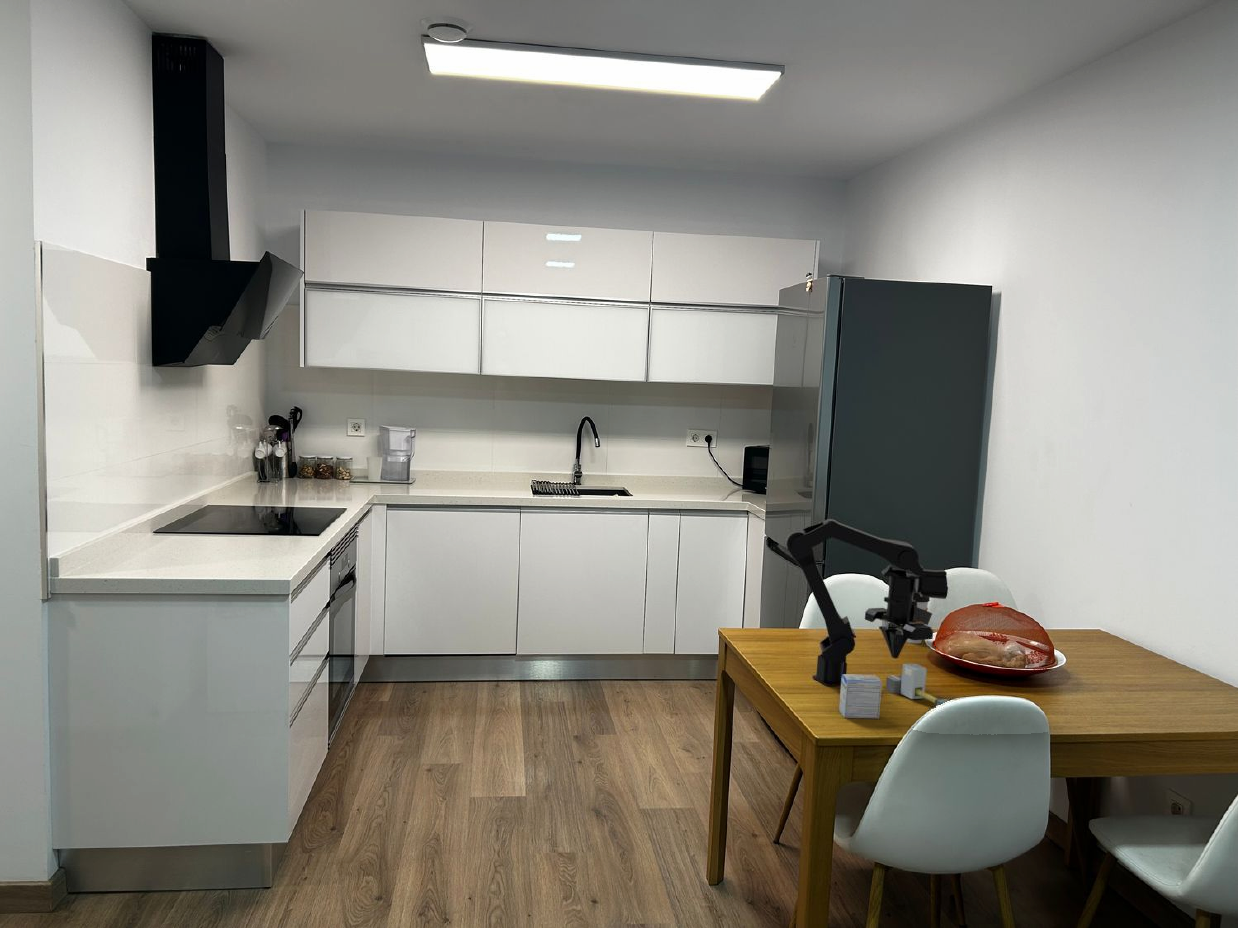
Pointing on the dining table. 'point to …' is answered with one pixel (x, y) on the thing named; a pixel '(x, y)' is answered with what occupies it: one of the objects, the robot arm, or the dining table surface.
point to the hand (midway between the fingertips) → (894, 657)
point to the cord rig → (895, 687)
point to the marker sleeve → (913, 680)
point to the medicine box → (860, 696)
